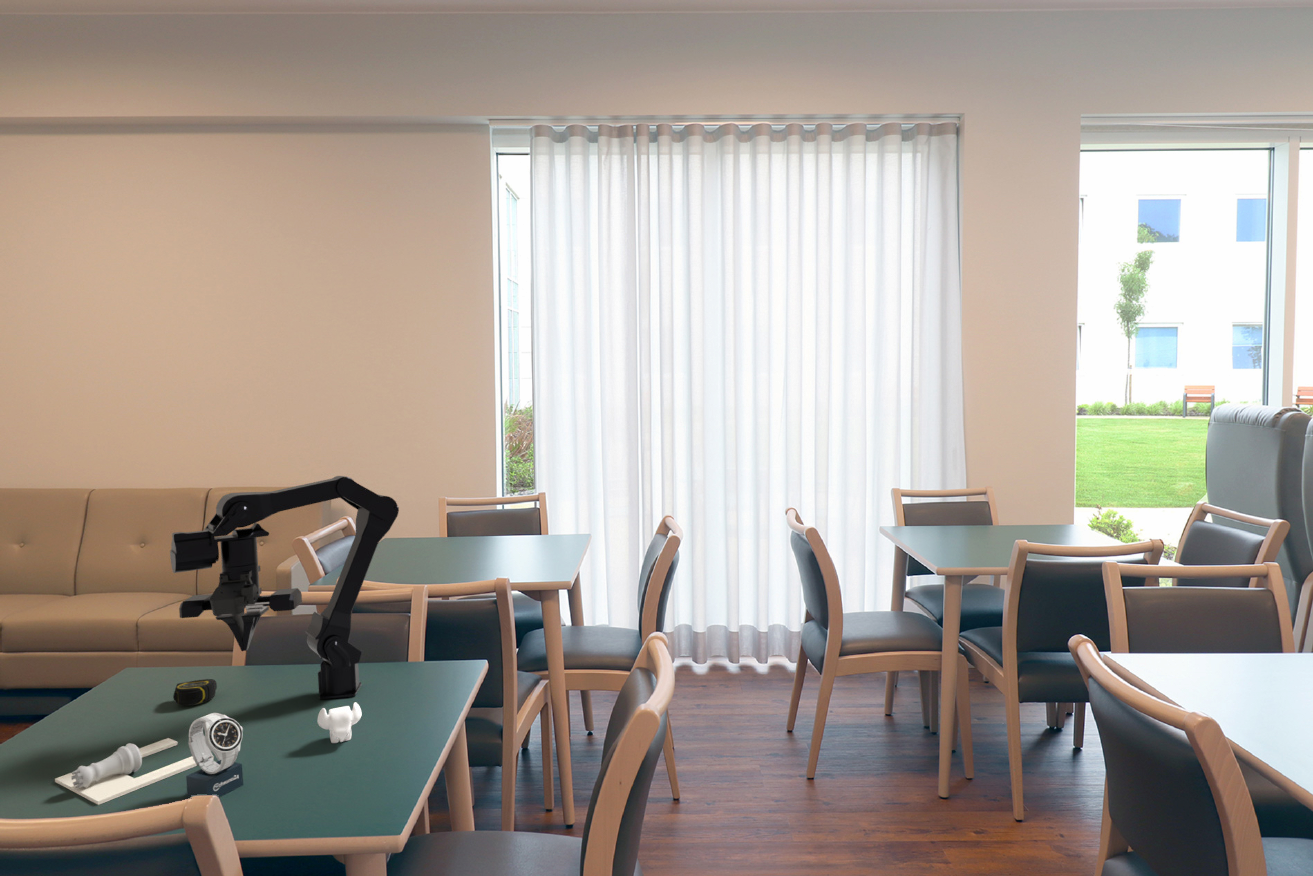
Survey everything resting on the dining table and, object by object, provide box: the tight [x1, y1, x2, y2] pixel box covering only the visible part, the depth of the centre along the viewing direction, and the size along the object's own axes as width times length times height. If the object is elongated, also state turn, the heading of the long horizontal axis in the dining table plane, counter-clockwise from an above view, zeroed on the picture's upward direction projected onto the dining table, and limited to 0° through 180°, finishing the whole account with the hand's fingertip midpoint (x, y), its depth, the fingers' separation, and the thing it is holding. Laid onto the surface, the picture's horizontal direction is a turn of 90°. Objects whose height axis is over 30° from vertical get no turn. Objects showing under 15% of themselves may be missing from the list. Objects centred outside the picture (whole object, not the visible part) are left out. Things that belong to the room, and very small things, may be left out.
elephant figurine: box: [317, 702, 363, 744], centre depth 128 cm, size 7×8×6 cm
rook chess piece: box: [71, 742, 143, 788], centre depth 116 cm, size 4×4×8 cm
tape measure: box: [172, 678, 218, 706], centre depth 148 cm, size 7×7×4 cm
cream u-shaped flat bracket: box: [54, 737, 215, 806], centre depth 120 cm, size 16×14×1 cm
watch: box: [185, 712, 244, 798], centre depth 112 cm, size 6×8×11 cm
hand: (244, 650), depth 139 cm, fingers closed
